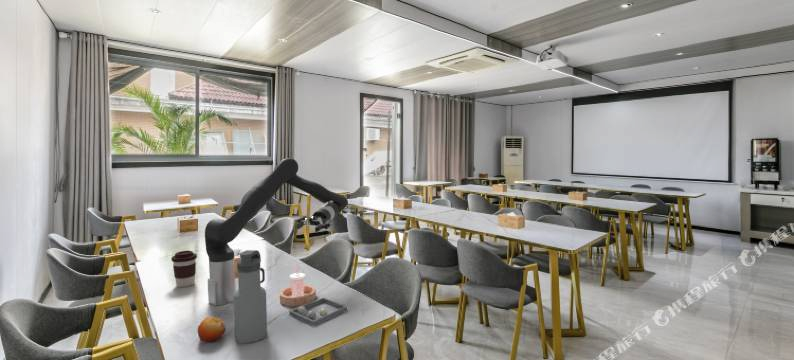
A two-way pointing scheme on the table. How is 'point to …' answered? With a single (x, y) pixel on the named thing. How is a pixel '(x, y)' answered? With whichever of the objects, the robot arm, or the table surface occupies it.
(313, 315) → the pebble
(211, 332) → the fruit
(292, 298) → the bowl
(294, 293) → the beverage cup
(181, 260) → the coffee cup
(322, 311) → the pebble
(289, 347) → the table surface
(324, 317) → the tray
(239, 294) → the water bottle
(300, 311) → the pebble
